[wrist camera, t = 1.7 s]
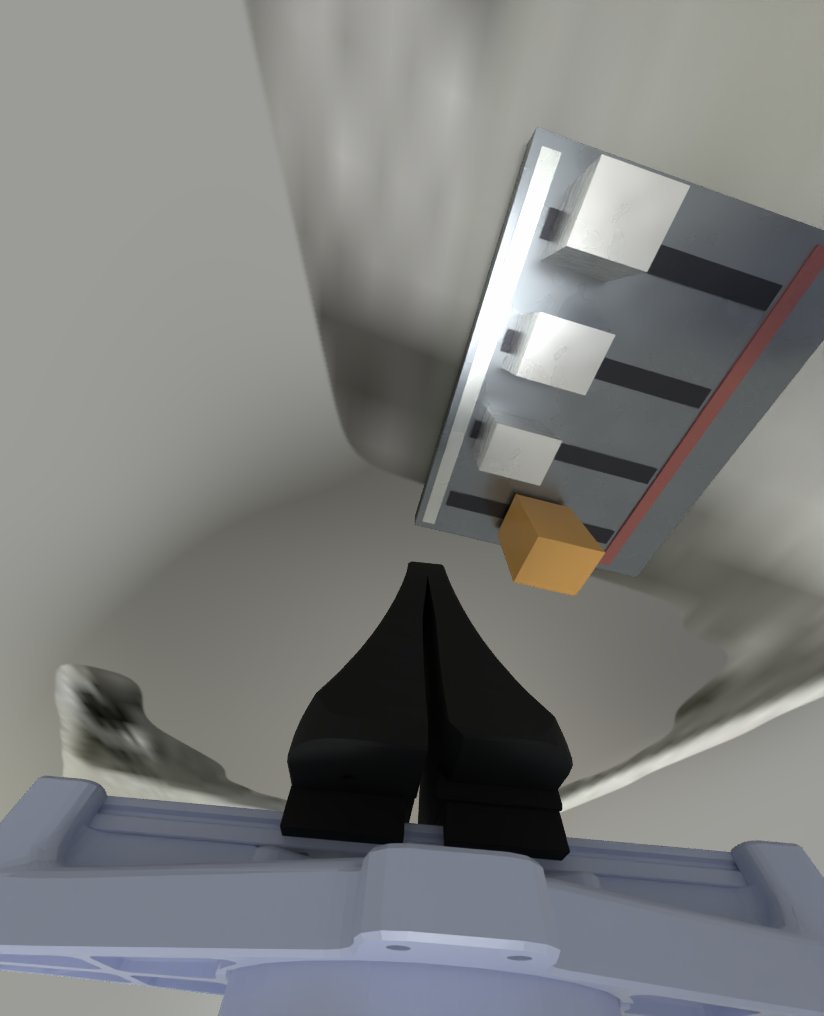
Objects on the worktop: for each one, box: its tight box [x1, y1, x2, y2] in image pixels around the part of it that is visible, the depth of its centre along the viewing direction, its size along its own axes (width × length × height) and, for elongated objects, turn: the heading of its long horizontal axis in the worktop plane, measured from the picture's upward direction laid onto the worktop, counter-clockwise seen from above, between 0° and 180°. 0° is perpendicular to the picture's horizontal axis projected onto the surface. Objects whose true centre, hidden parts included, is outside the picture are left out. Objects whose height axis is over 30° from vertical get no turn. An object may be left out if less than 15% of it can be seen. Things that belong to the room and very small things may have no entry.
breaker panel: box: [415, 127, 824, 577], centre depth 17 cm, size 16×18×4 cm
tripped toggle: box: [497, 494, 605, 596], centre depth 18 cm, size 4×3×4 cm
